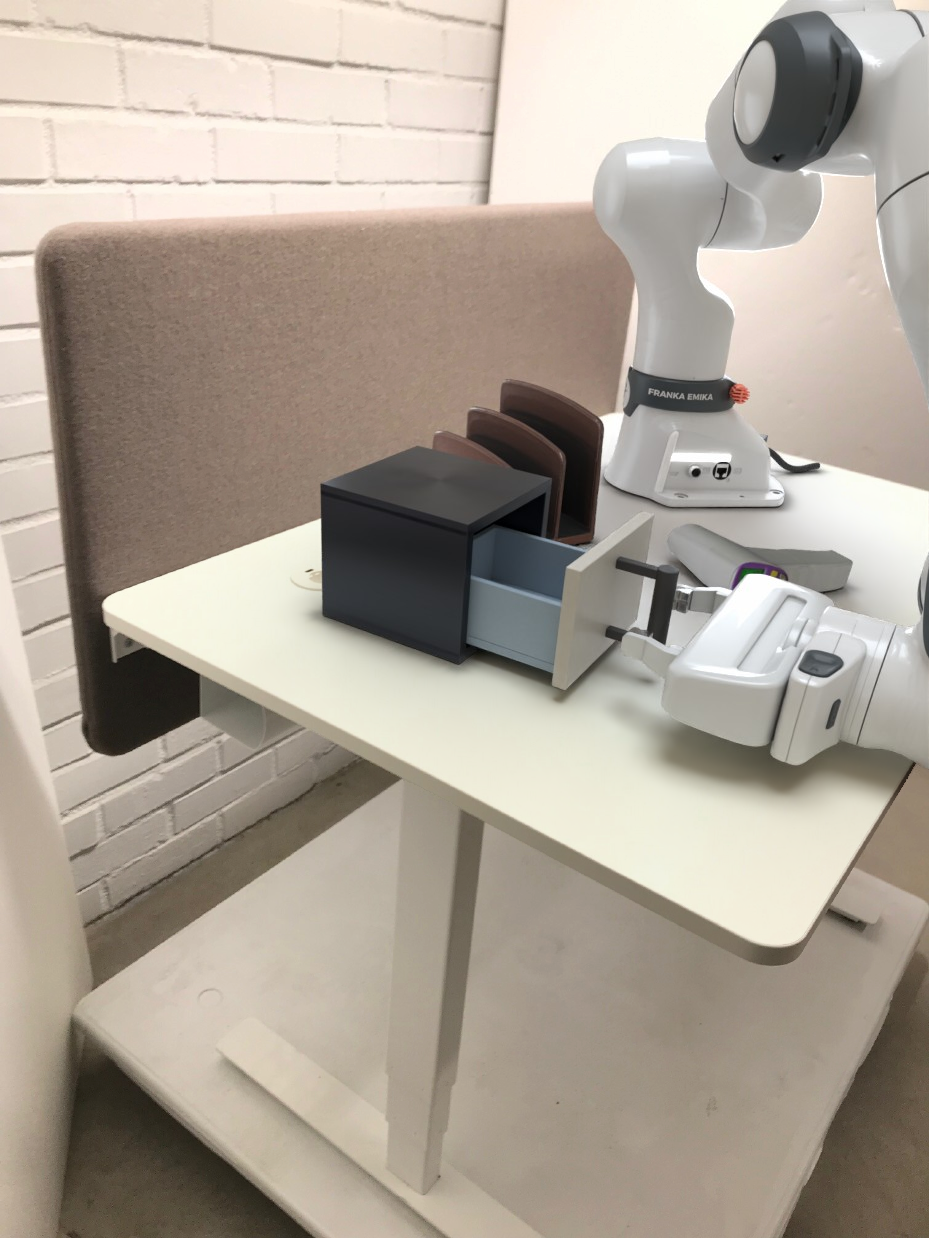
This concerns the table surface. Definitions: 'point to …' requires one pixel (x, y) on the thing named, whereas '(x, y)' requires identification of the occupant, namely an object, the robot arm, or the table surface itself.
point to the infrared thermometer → (754, 561)
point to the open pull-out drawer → (563, 596)
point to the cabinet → (418, 542)
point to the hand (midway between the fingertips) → (648, 616)
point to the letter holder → (540, 451)
